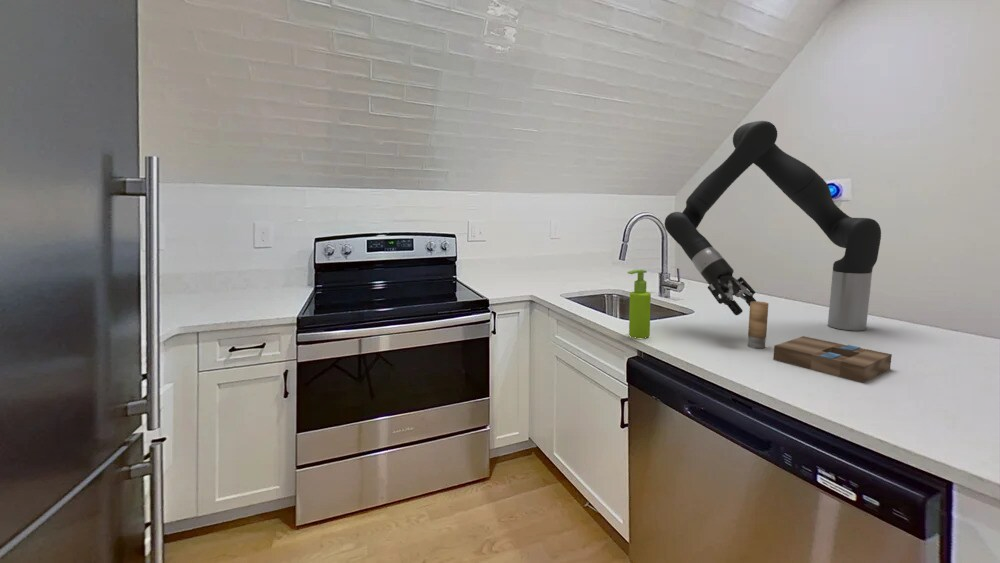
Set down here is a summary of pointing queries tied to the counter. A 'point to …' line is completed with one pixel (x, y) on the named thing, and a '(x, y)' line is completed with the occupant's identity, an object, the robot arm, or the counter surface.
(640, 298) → the soap dispenser
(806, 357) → the board
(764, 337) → the upright wooden block
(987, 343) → the counter surface
